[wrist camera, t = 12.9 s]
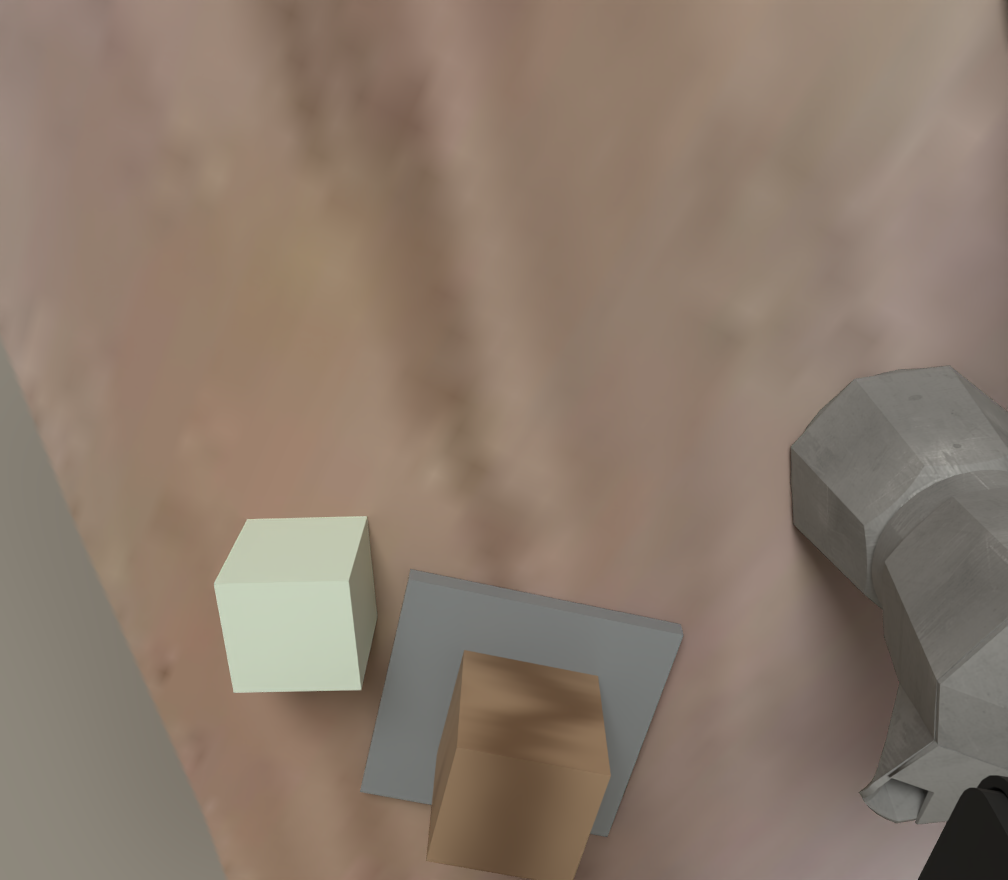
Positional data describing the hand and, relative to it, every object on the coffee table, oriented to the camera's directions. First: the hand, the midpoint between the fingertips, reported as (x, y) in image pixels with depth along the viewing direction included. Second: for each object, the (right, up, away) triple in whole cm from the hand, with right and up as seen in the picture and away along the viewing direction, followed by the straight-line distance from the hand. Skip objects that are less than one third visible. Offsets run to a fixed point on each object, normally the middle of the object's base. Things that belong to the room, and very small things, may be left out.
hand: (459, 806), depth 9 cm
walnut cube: (+1, -9, +34) cm, 35 cm away
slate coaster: (+1, -9, +35) cm, 36 cm away
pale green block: (-8, -2, +32) cm, 33 cm away
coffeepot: (+17, +3, +30) cm, 34 cm away
